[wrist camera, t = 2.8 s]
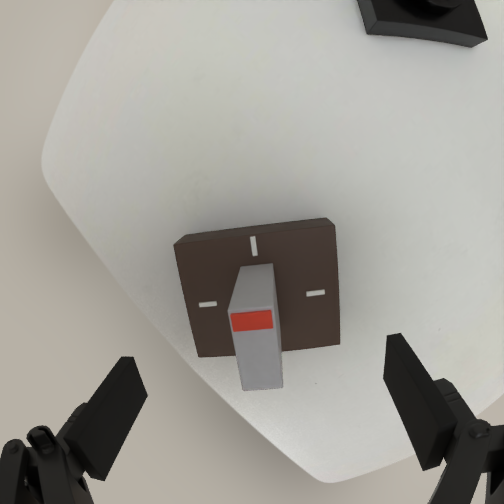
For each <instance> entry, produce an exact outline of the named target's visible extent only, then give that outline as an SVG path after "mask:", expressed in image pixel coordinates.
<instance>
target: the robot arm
mask: <svg viewBox="0 0 504 504" xmlns="http://www.w3.org/2000/svg"><path fill="white" fill-rule="evenodd" d="M383 379H384V382H385V384H386V386H387V388H388V390H389V392H390V395H391V397H392V399H393V401H394V404H395V406H396V408H397V410H398V413H399V415H400V417H401V419H402V422H403V424H404V426H405V429H406V431H407V433H408V436H409V438H410V441H411V443H412V445H413V448H414V450H415V453H416V455H417V458H418V460H419V462H420V465H421V468H422V470H423V471H425V470H428V469H431V468H434V467H437V466H440V464H441V462H442V460H443V457H444V459H445V461H446V463H447V465H446V467H445V469H444V471H443V473H442V475H441V478H440V480H439V482H438V484H437V486H436V488H435V491H434V493H433V494H432V496H431V499H430V500H429V502H428V504H470V503H471V500H472V498H473V495H474V492H475V490H476V487H477V484H478V481H479V478H480V475H481V473H487V485H486V499H485V504H504V425H498V426H491V425H490V424H489V423H488V422H487V421H484V420H481V419H476V417H475V416H474V414H473V413H472V411H471V410H470V408H469V407H468V405H467V404H466V402H465V401H464V400H463V398H461V395H460V394H459V392H457V389H456V388H455V387H454V385H453V384H452V383H451V382H449V381H448V380H446V379H445V378H442V379H439V380H435V381H433V380H432V378H431V377H430V375H429V374H428V372H427V371H426V369H425V368H424V366H423V365H422V363H421V362H420V360H419V359H418V357H417V356H416V354H415V353H414V351H413V350H412V348H411V347H410V346H409V344H408V343H407V341H406V340H405V338H404V337H403V336H402V334H401V333H398V334H392V335H387V341H386V354H385V365H384V375H383ZM147 396H148V395H147V392H146V390H145V387H144V385H143V382H142V379H141V377H140V374H139V371H138V368H137V366H136V363H135V360H134V357H121V358H120V359H119V360H118V362H117V363H116V364H115V366H114V367H113V368H112V370H111V371H110V372H109V374H108V375H107V377H106V378H105V379H104V381H103V382H102V383H101V385H100V386H99V387H98V389H97V390H96V392H95V393H94V394H93V396H92V397H91V399H90V400H89V401H88V403H83V404H81V405H80V406H78V407H77V408H76V409H75V411H74V412H73V413H72V414H71V416H70V417H69V418H68V420H67V422H66V423H65V424H64V425H63V427H62V428H61V430H60V431H59V432H58V434H57V435H56V436H54V435H53V433H52V431H51V430H50V428H48V427H47V426H43V425H42V426H37V427H34V428H33V429H31V430H30V431H29V433H28V434H27V440H28V442H29V443H30V444H31V446H32V447H26V446H25V445H24V443H23V442H22V441H21V440H19V439H13V440H10V441H8V442H7V443H6V444H5V446H4V447H3V450H2V454H1V458H0V504H94V502H93V500H92V497H91V495H90V492H89V489H88V486H87V483H86V480H85V478H84V477H83V476H82V475H83V473H84V471H86V472H87V473H88V475H89V476H90V477H91V478H94V479H97V480H101V481H105V479H106V477H107V475H108V473H109V471H110V469H111V467H112V465H113V463H114V461H115V459H116V457H117V455H118V453H119V451H120V449H121V447H122V445H123V443H124V441H125V439H126V437H127V435H128V433H129V431H130V429H131V427H132V425H133V423H134V421H135V420H136V418H137V416H138V414H139V412H140V410H141V408H142V406H143V404H144V402H145V400H146V398H147Z"/></svg>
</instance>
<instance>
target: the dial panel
mask: <svg viewBox="0 0 504 504" xmlns="http://www.w3.org/2000/svg"><path fill="white" fill-rule="evenodd" d="M174 250H175V256H176V261H177V266H178V271H179V275H180V280H181V285H182V290H183V294H184V299H185V303H186V308H187V312H188V316H189V321H190V325H191V329H192V333H193V337H194V341H195V345H196V349H197V353H198V357H219V356H236V353H235V348H234V343H233V337H232V332H231V327H230V321H229V316H228V308H229V304H230V301H231V298H232V294H233V291H234V287H235V284H236V281H237V277H238V274H239V271H240V267H242V266H251V265H260V264H269V263H273V269H274V277H275V286H276V294H277V303H278V311H279V320H280V330H281V350H282V351H292V350H301V349H309V348H317V347H325V346H332V345H339V344H340V306H339V280H338V262H337V246H336V232H335V225H334V224H333V223H332V222H331V221H330V220H328V219H327V218H319V219H310V220H301V221H292V222H284V223H275V224H267V225H258V226H250V227H242V228H234V229H226V230H219V231H211V232H203V233H196V234H188V235H185V236H183V237H182V238H181V239H180V240H178V241H177V242H176V243H175V244H174Z"/></svg>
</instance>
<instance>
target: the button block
mask: <svg viewBox="0 0 504 504" xmlns="http://www.w3.org/2000/svg"><path fill="white" fill-rule="evenodd" d="M357 1H358V4H359V7H360V11H361V14H362V17H363V21H364V25H365V28H366V32H367V34H374V35H389V36H400V37H410V38H419V39H426V40H433V41H439V42H445V43H451V44H456V45H461V46H466V47H471V48H472V47H474V46H476V45H478V44H480V43H482V42H484V41H486V40H488V37H487V34H486V31H485V28H484V25H483V23H482V20H481V17H480V14H479V12H478V9H477V6H476V4H475V1H474V0H357Z"/></svg>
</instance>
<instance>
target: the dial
mask: <svg viewBox="0 0 504 504" xmlns="http://www.w3.org/2000/svg"><path fill="white" fill-rule="evenodd" d="M228 316H229V321H230V327H231V332H232V337H233V343H234V348H235V353H236V358H237V363H238V368H239V373H240V379H241V383H242V388H243V391H249V390H264V389H276V388H283V372H282V350H281V330H280V320H279V311H278V303H277V294H276V286H275V277H274V269H273V263H269V264H260V265H251V266H242V267H240V271H239V274H238V277H237V281H236V284H235V287H234V291H233V294H232V298H231V301H230V304H229V308H228Z"/></svg>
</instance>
